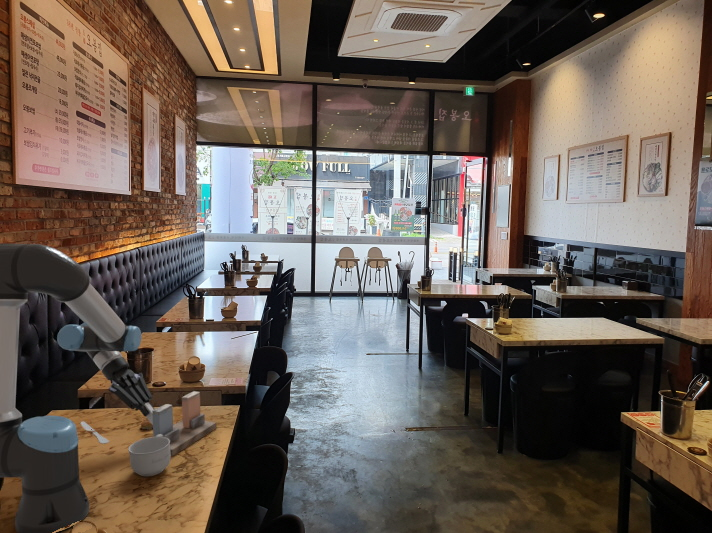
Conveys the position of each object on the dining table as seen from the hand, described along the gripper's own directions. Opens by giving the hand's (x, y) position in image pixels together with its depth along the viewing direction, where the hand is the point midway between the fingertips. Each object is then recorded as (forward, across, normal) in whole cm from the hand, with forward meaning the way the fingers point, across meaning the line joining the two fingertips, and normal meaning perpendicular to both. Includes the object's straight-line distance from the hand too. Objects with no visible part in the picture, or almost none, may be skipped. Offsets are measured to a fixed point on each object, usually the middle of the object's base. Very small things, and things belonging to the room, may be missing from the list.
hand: (156, 421), depth 164 cm
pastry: (-3, -13, -14) cm, 19 cm away
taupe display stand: (+8, -6, -3) cm, 10 cm away
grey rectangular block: (+5, 0, -2) cm, 6 cm away
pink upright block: (+6, -13, -1) cm, 14 cm away
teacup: (+12, +13, +1) cm, 18 cm away
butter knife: (-13, -1, -25) cm, 28 cm away
